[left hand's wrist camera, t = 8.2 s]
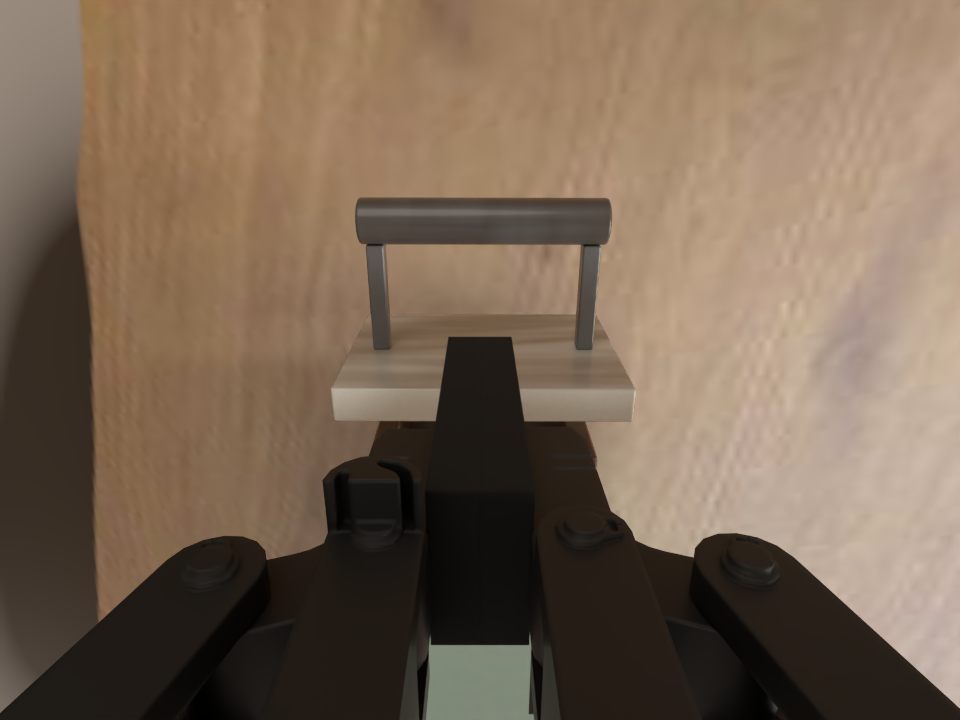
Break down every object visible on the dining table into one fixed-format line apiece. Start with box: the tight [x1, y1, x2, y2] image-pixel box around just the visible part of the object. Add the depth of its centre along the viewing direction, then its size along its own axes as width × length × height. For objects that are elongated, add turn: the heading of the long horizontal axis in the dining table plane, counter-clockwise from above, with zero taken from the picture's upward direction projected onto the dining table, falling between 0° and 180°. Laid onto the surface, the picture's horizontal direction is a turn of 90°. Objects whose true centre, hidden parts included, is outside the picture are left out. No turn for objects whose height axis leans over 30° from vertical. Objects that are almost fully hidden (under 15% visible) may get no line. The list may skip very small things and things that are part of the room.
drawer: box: [331, 198, 636, 467], centre depth 25 cm, size 25×10×7 cm, turn 0°
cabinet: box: [426, 639, 534, 720], centre depth 30 cm, size 21×11×9 cm, turn 0°
